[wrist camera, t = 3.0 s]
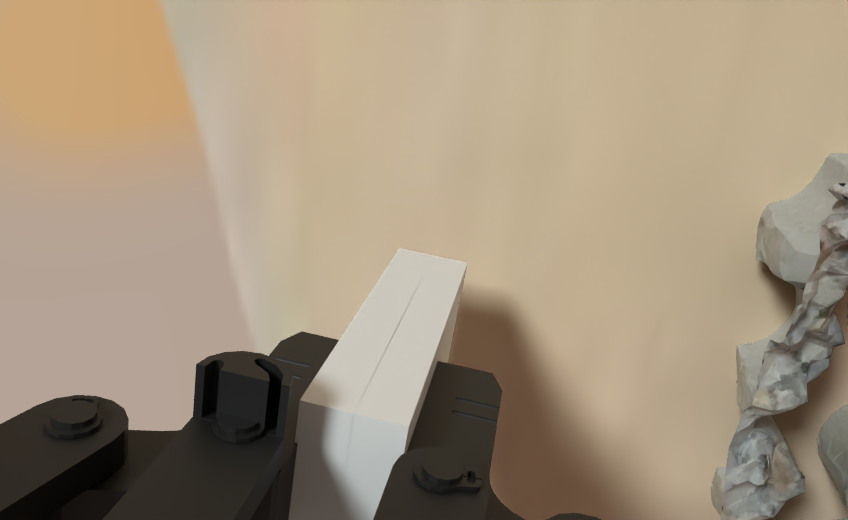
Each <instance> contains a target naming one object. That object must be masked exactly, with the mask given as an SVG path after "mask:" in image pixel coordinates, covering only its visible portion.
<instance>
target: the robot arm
mask: <svg viewBox="0 0 848 520" xmlns="http://www.w3.org/2000/svg"><path fill="white" fill-rule="evenodd" d="M466 268H467V263H466V262H462V261H457V260H453V259H448V258H443V257H439V256H434V255H429V254H425V253H420V252H415V251H411V250H406V249H402V248H399V249H398V251H397V252H396V254H395V255H394V257H393V259H392V260H391V262H390V263H389V265H388V266H387V268H386V269H385V271H384V272H383V274H382V275H381V277H380V278H379V280H378V281H377V283H376V285H375V286H374V288H373V289H372V291H371V292H370V294H369V295H368V297H367V298H366V300H365V301H364V303H363V304H362V306H361V307H360V309H359V310H358V312H357V314H356V315H355V317H354V318H353V320H352V321H351V323H350V324H349V326H348V327H347V329H346V330H345V332H344V333H343V335H342V336H341V338H340V340H336V339H332V338H328V337H323V336H319V335H315V334H310V333H306V332H300V333H298V334H295V335H293V336H291V337H289V338H287V339H285V340H282V341H281V342H280V343H279V344H278V345H277V347H276V348H275V349H274V350H273V351H272V353H271V354H270V355H269V356H267V355H264V354H261V353H253V352H246V351H237V352H224V353H220V354H216V355H213V356H209V357H207V358H206V359H204V360H202V361H201V362H200V363H198V364H197V365H196V379H195V396H194V411H193V417H192V418H191V419H190V421H189V422H188V423H187V424H186V425H185V426H184V427H183V428H182V430H179V431H140V430H128V417H127V414H126V412H125V410H124V408H122V407H121V406H119V405H118V404H116V403H115V402H113V401H112V400H108V399H104V398H101V397H97V396H84V395H74V396H69V397H62V398H56V399H53V400H50V401H47V402H45V403H42V404H39V405H37V406H35V407H33V408H31V409H29V410H27V411H25V412H23V413H21V414H19V415H17V416H16V417H13V418H11V419H10V420H8V421H6V422H4V423H2V424H0V520H525V519H523V518H521V517H520V516H518V515H516V514H515V513H513V512H511V511H510V510H509V509H508V508H507V507H506V506H504V505H503V504H502V503H501V502H500V500H499V499H498V498H497V497H496V495H495V494H494V492H493V490H492V488H491V485H490V480H489V472H490V466H491V459H492V452H493V446H494V439H495V433H496V426H497V420H498V413H499V407H500V400H501V393H502V390H501V388H500V386H499V384H498V382H497V381H496V379H495V377H494V375H493V373H488V372H484V371H480V370H475V369H471V368H467V367H462V366H458V365H454V364H449V363H448V359H449V354H450V349H451V344H452V339H453V334H454V329H455V324H456V319H457V313H458V308H459V303H460V298H461V293H462V288H463V283H464V278H465V273H466ZM547 520H601V519H598V518H596V517H592V516H587V515H583V514H578V513H570V514H558V515H556V516H553V517H551V518H549V519H547Z"/></svg>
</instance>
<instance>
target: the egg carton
mask: <svg viewBox="0 0 848 520" xmlns="http://www.w3.org/2000/svg"><path fill="white" fill-rule="evenodd" d="M756 249H757V254H756V260H759V261H762V262H763V263H765V264H766V265H767V266H769V269H770V271H771V272H772V273H773V274H774V275H776V276H777V277H779V278H781V279H783V280H784V281H786V282H788V283H790V284H792V285H794V286H795V290H796V302H795V306H794V309H793V311H792V314H791V316H790V317H789V318H788V320H787V321H786V322H785V323H784V324H783V325H782V326H781V327H780V328H779V329H778V330H777V331H776V332H774V333H773V334H771V335H770V336H768V337H767V338H765V339H763V340H759V341H756V342H753V343H749V344H739V345H738V346H737V350H736V360H737V382H736V383H737V403H738V405H739V407H740V408H741V409H742V411H743V415H742V418H741V420H740V423H739V425H738V427H737V430H736V432H735V435H734V437H733V439H732V442H731V444H730V446H729V452H728V459H727V466H726V467H718V468H717V469H716V472H715V475H714V478H713V480H712V485H711V496H712V503H713V505H714V507H715V508H716V510H717V511H718V512H719V514H720V515H721V520H764V519H770V518H774V517H775V516H776V515H777V513H778V512H779V511H780V509H781V508H782V507H783V505H784V504H785V503H786V501H787V500H789V499H791V498H793V497H796V496H798V495H801V494H804V487H805V476H804V475H803V474H802V473H801V471H800V470H799V469H798V466H797V464H796V462H795V459H794V457H793V455H792V453H791V451H790V449H789V447H788V445H787V443H786V441H785V439H784V437H783V435H782V433H781V432H780V430H779V428H778V426H777V424H776V422H775V420H774V419H773V417H772V415H776V414H780V413H783V412H786V411H789V410H792V409H794V408H796V407H799V406H801V405H803V404H805V403H807V402H808V393H807V384H808V382H809V381H811V380H813V379H815V378H817V377H818V376H819V375H820V374H821V373H822V372H823V371H824V370H826V369H827V368H828V367H829V366H830V356H831V354H832V349H833V347H836V346H839V345H842V344H845V341H844V336H843V332H842V330H841V327H840V324H839V322H838V319H837V316H836V314H835V313H834V312H833V309H834V308H835V306H836V305H837V304H838V302H839V301H840V300H841V299H842V297H843V296H844V294H845V291H846V288H847V286H848V154H844V153H831V154H830V155H828V156H827V158H826V160H825V162H824V164H823V165H822V167H821V168H820V170H819V171H818V173H817V174H816V176H815V177H814V179H813V180H812V182H810V183H809V184H808V185H807V186H806V187H805V188H804V189H803V190H802V191H801V192H799V193H797V194H795V195H794V196H792V197H790V198H788V199H786V200H783V201H779V202H775V203H771V204H768V205H767V207H766V208H765V210H764V211H763V213H762V215H761V217H760V221H759V225H758V231H757V241H756ZM846 317H847V318H848V314H847V316H846ZM817 442H818V454H819V456H820V458H821V460H822V462H823V464H824V466H825V467H826V469H827V471H828V473H829V474H830V476H831V478H832V480H833V482H834V484H835V485H836V487H837V489H838V491H839V493H840V495H841V496H842V498H843V501H844V503H845V505H846V506H847V508H848V404H847V405H845V406H843V407H842V408H840V409H839V410H837V411H836V412H835V413H834V414H833V415H831V416H830V417H829V419H828V420H827V421H826V422H825V423H824V425H823V426H822V428H821V430H820V433H819V437H818V439H817ZM841 501H842V500H841ZM839 502H840V501H839ZM837 520H848V519H837Z"/></svg>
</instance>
